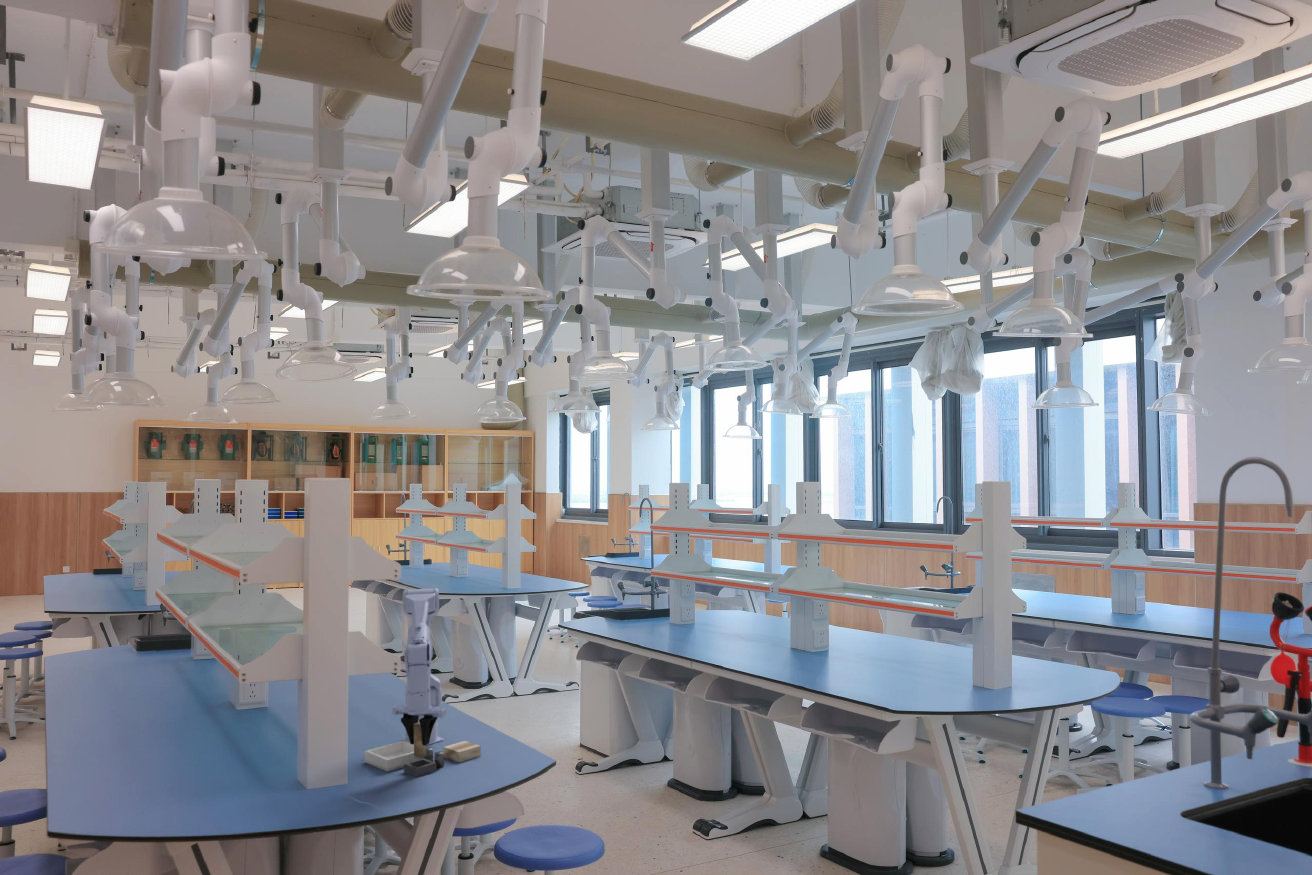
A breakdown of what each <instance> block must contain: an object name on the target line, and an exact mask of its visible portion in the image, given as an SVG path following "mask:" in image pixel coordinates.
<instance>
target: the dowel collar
mask: <svg viewBox="0 0 1312 875" xmlns="http://www.w3.org/2000/svg"><path fill="white" fill-rule="evenodd" d="M403 768H404V769H403V770H404V773H407V774H409V775H412V776H414V777H419V776H420V777H421V776H424V775H427V774H429V773H434V772H436V771H437V768H436V763H435V762H434V760H433V761H430V760H427V759H425V758H423V759H420V760H416V761H412V762H409V763H405V764H404V767H403Z"/></svg>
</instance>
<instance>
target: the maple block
mask: <svg viewBox="0 0 1312 875" xmlns="http://www.w3.org/2000/svg"><path fill="white" fill-rule="evenodd" d="M442 750H443V751H442V752H444V759H448V760H452V761H454V762H457V763H461V762H464V761H469V760H471V759H475V758H477V757H480V756H481V755H482V754H481V753H482V752H481V745H479V744H476V743H473V742H470V741H466V740H464V741H460V742H459V741H458V742H455V743H452V744H450V745H449V744H448V745H446V746H443V749H442Z"/></svg>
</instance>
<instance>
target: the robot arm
mask: <svg viewBox="0 0 1312 875" xmlns="http://www.w3.org/2000/svg"><path fill="white" fill-rule="evenodd" d="M439 590H440V589H438V588H437V587H434V588H416V589H414V588H413V589H404V590H403V591H402V610H403V613H404V615H405V617H408V618H411V619H412V624H411V625H410V626H409V628H408V629H407V640H406V641H407V643H406V646H405V647H404V654H403V655H404V666H405V675H406V685H405V704H404V705H399V704H397V705H394V706H392V715H393V716H397V715H403V716H402V717H401V718H400V722H401V723H402V725H403V726H404V729H405V730H404V735H405V737H404V738H402V741H406V742H408V743H410V744H412V745H413V744H414V728H413V724H415V723H419V722H420V725H421V730H422V744H423V745H426V746H429V745H431V744H435V743H440V742H443V741H444V740H445V738H443V737H440V736H439V734H438V718H439V719H443V718H446V717H447V708H443V707H442V704H443V703H442V700H443V699H442V686H441V685H442V684H441V683H442V682H441V680H440V678H439V677H437V676H436V675H434V674H432V672H431V671H432V667H431V665H432V647H431V622H432V621H431V620H432V618H433V617H434V616H435V617H436V616H437V615H439V612H440V594H439V593H440V592H439Z"/></svg>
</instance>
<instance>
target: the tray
mask: <svg viewBox="0 0 1312 875" xmlns="http://www.w3.org/2000/svg"><path fill="white" fill-rule="evenodd" d="M423 758H424V756H423V757H414V744H413V745H412V744H410V743H408V742H406V741H403V740H401V741H398V742H393V743H390V744H385V745H382V746H378V747H375V748H372V749H371V748H370V749H368V750H364V763H366V764H369V766H372V767H375V768H378V769H380V770H382V771H385V772H387V773H388V772H391V771H396V770H399V769H402V768H404V764H405V763H409V762H412V761H416V760H420V759H423Z"/></svg>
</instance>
